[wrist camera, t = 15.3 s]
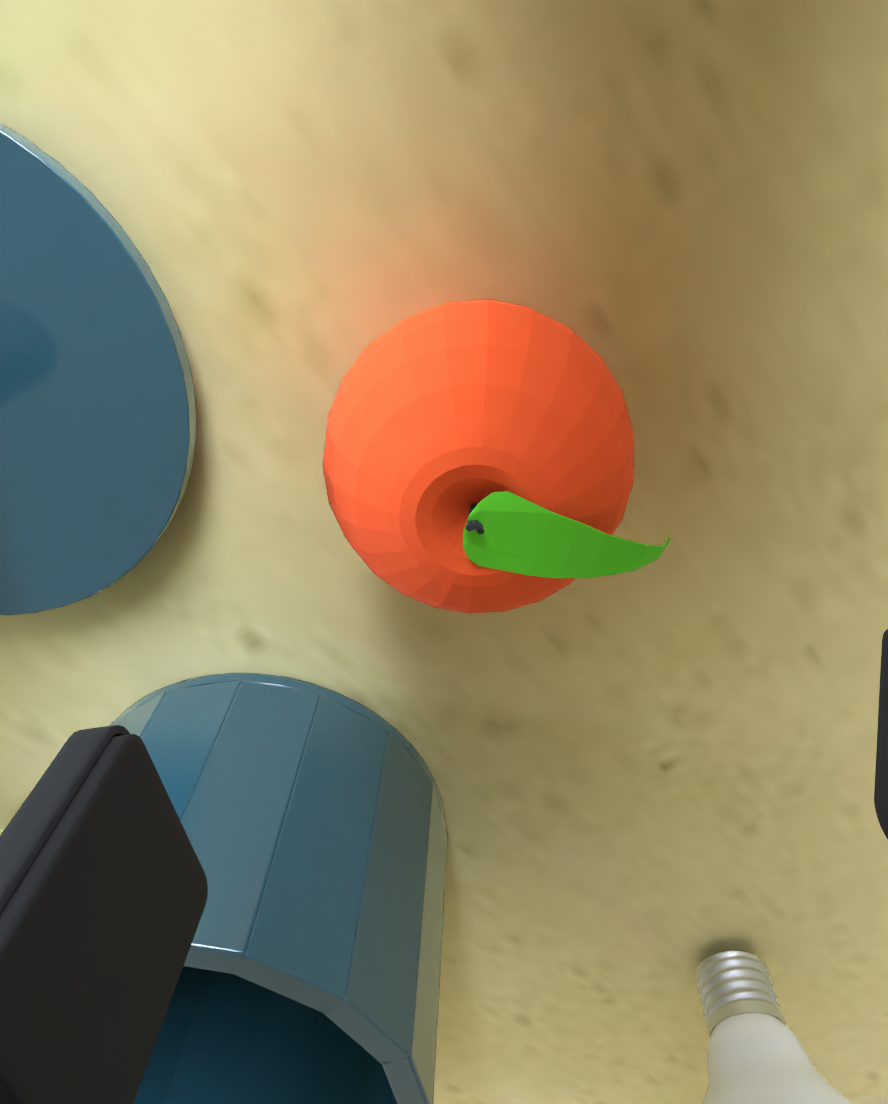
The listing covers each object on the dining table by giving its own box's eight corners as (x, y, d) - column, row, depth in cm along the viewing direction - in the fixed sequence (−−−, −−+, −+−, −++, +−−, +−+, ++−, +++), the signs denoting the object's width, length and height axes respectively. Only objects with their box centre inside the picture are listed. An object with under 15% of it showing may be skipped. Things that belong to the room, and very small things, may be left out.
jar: (400, 646, 25) (356, 912, 16) (474, 916, 30) (470, 1217, 22) (29, 700, 26) (-183, 966, 18) (165, 947, 32) (52, 1237, 24)
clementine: (694, 339, 20) (792, 435, 14) (588, 568, 23) (627, 732, 17) (387, 235, 19) (340, 286, 13) (320, 487, 22) (257, 628, 16)
